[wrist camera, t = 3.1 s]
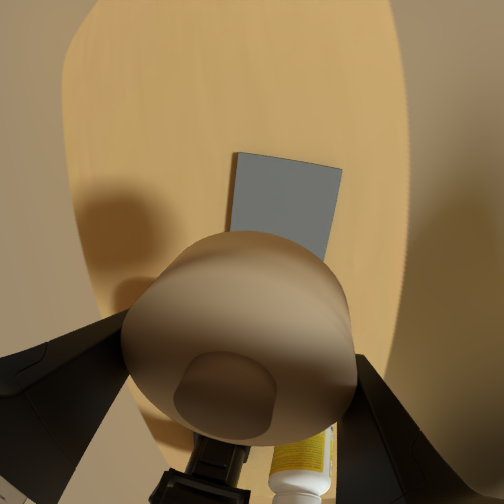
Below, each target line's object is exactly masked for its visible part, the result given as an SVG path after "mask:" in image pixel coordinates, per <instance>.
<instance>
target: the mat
mask: <svg viewBox="0 0 504 504" xmlns="http://www.w3.org/2000/svg"><path fill="white" fill-rule="evenodd" d="M341 176H342V169H338V168H333V167H328V166H323V165H318V164H313V163H307V162H302V161H296V160H290V159H284V158H277V157H271V156H264V155H257V154H250V153H242V152H239V153H238V162H237V170H236V179H235V188H234V198H233V207H232V217H231V226H230V231H258V232H265V233H269V234H273V235H277V236H280V237H283V238H286V239H288V240H291V241H293V242H295V243H297V244H299V245H301V246H303V247H304V248H306V249H308V250H309V251H310V252H312V253H313V254H315V255H316V256H317V257H318V258H319V259H321V260H322V261H323V260H324V256H325V252H326V247H327V243H328V239H329V234H330V230H331V225H332V221H333V216H334V211H335V206H336V201H337V196H338V191H339V186H340V181H341Z"/></svg>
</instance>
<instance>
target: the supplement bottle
mask: <svg viewBox="0 0 504 504" xmlns="http://www.w3.org/2000/svg"><path fill="white" fill-rule="evenodd" d="M332 449H333V425H331V426H330V427H329V428H327V429H326V430H324V431H322V432H321V433H319V434H317V435H315V436H312V437H310V438H308V439H305V440H301V441H298V442H294V443H290V444H285V445H277V446H275V448H274V453H273V459H272V464H271V470H270V474H269V481H268V484H269V487H270V489H271V490H272V491H273V492H274V493H276V494H277V495H275V496H274V499H273V502H272V504H321V498H320V497H319V496H320V495H322V494H324V493H325V492H326V491H327V490H328V489H329V488H330V485H331V470H332Z"/></svg>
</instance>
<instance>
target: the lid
mask: <svg viewBox="0 0 504 504" xmlns="http://www.w3.org/2000/svg"><path fill="white" fill-rule="evenodd" d="M121 350H122V355H123V359H124V362H125V365H126V367H127V369H128V372H129V374H130V375H131V377H132V379H133V381H134V382H135V384H136V385H137V387H138V388H139V389H140V391H141V392H142V393H143V394H144V395H145V396H146V398H147V399H148V400H149V401H150V402H151V403H152V404H153V405H155V406H156V407H157V408H158V409H159V410H160V411H162V412H163V413H164V414H165V415H167V416H168V417H170V418H171V419H173V420H174V421H176V422H177V423H179V424H181V425H183V426H184V427H186V428H188V429H190V430H192V431H194V432H197V433H199V434H201V435H204V436H207V437H210V438H213V439H216V440H220V441H223V442H228V443H233V444H238V445H246V446H277V445H285V444H290V443H294V442H298V441H301V440H305V439H308V438H310V437H312V436H315V435H317V434H319V433H321V432H322V431H324V430H326V429H327V428H329V427H330V426H331V425H333V424H334V423H335V422H337V421H338V420H339V418H340V417H341V416H342V415H343V414H344V413H345V412H346V410H347V409H348V407H349V406H350V404H351V402H352V400H353V397H354V395H355V391H356V387H357V367H356V359H355V350H354V343H353V335H352V328H351V321H350V315H349V309H348V304H347V299H346V296H345V294H344V291H343V289H342V286H341V285H340V283H339V281H338V279H337V278H336V276H335V275H334V274H333V272H332V271H331V270H330V269H329V267H328V266H327V265H326V264H325V263H324V262H323V261H322V260H321V259H319V258H318V257H317V256H316V255H315V254H313V253H312V252H310V251H309V250H308V249H306V248H304V247H303V246H301V245H299V244H297V243H295V242H293V241H291V240H288V239H286V238H283V237H280V236H277V235H273V234H269V233H265V232H258V231H230V232H223V233H219V234H215V235H212V236H208V237H206V238H204V239H202V240H199V241H197V242H196V243H194V244H193V245H191V246H189V247H188V248H187V249H185V250H184V251H183V252H182V253H181V254H180V255H179V256H178V257H177V258H176V259H175V260H174V261H173V262H172V263H171V264H170V265H169V266H168V267H167V268H166V269H165V270H164V271H163V272H162V274H161V275H160V276H159V277H158V278H157V279H156V280H155V281H154V282H153V283H152V284H151V285H150V286H149V287H148V288H147V290H146V291H145V292H144V293H143V294H142V295H141V296H140V297H139V298H138V299H137V300H136V301H135V303H134V304H133V305H132V307H131V308H130V309H129V311H128V312H127V315H126V317H125V319H124V321H123V325H122V330H121Z"/></svg>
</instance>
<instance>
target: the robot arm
mask: <svg viewBox="0 0 504 504" xmlns="http://www.w3.org/2000/svg"><path fill="white" fill-rule="evenodd" d="M129 309H130V308H129ZM129 309H127V310H124V311H122V312H120V313H117V314H115V315H112V316H110V317H107V318H105V319H102V320H100V321H98V322H95V323H92V324H90V325H87V326H85V327H82V328H80V329H78V330H75V331H73V332H70V333H68V334H65V335H63V336H60V337H58V338H55V339H53V340H50V341H49V342H45V343H43V344H40V345H38V346H35V347H32V348H30V349H27V350H24V351H21V352H18V353H14V354H11V355H8V356H5V357H1V358H0V504H24V503H25V501H26V499H27V498H29V499H31V500H32V501H33V502H35V503H36V504H57V503H58V501H59V500H60V498H61V496H62V494H63V491H64V490H65V488H66V486H67V484H68V482H69V480H70V479H71V476H72V475H73V473H74V471H75V469H76V467H77V465H78V463H79V461H80V460H81V458H82V456H83V454H84V452H85V451H86V449H87V447H88V445H89V443H90V442H91V440H92V438H93V436H94V434H95V433H96V431H97V429H98V427H99V426H100V424H101V422H102V420H103V419H104V417H105V415H106V413H107V412H108V410H109V408H110V406H111V405H112V403H113V401H114V400H115V398H116V396H117V395H118V393H119V391H120V389H121V388H122V386H123V384H124V383H125V381H126V379H127V378H128V376H129V372H128V369H127V367H126V365H125V362H124V359H123V355H122V350H121V330H122V325H123V321H124V319H125V317H126V315H127V312H128V311H129ZM355 359H356V367H357V387H356V391H355V395H354V397H353V400H352V402H351V404H350V406H349V407H348V409H347V410H346V412H345V413H344V414H343V415H342V416H341V417H340V418H339V420H338V421H337V485H336V504H504V499H500V498H495V497H490V496H486V495H482V494H480V493H478V492H476V491H474V490H473V489H472V488H470V487H469V486H468V485H467V484H466V483H465V482H464V480H463V479H462V478H461V477H460V476H459V475H458V474H457V473H456V472H455V471H454V469H453V468H452V467H451V466H450V465H449V464H448V463H447V462H446V461H445V460H444V458H443V457H442V456H441V455H440V454H439V453H438V451H437V450H436V449H435V448H434V446H433V445H432V444H431V443H430V441H429V440H428V439H427V438H426V436H425V435H424V433H423V432H422V431H420V428H419V427H418V426H417V424H416V423H415V421H414V420H413V419H412V417H411V416H410V415H409V413H408V412H407V411H406V410H405V408H404V407H403V406H402V404H401V403H400V401H399V400H398V399H397V397H396V396H395V395H394V394H393V392H392V391H391V390H390V388H389V387H388V386H387V385H386V383H385V382H384V380H383V379H382V378H381V377H380V375H379V374H378V373H377V371H376V370H375V369H374V367H373V366H372V365H371V364H370V362H369V361H368V360H367V358H366V357H365V356H364V355H362V354H355ZM250 448H251V446H246V445H238V444H233V443H228V442H223V441H220V440H216V439H213V438H210V437H207V436H204V435H201V434H199V433H197V432H194V449H193V452H192V454H191V457H190V459H189V462H188V465H187V467H186V470H185V472H184V473H182V472H180V471H177V470H175V469H173V468H170V469H169V471H164V473H163V476H162V478H161V480H160V482H159V484H158V485H157V487H156V488H155V490H154V491H153V492H152V494H151V495H150V497H149V500H148V501H149V502H150V504H249V499H250V493H251V490H243V489H239V488H237V484H238V480H239V476H240V472H241V469H242V465H243V463H246V462H247V459H248V455H249V452H250Z"/></svg>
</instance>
